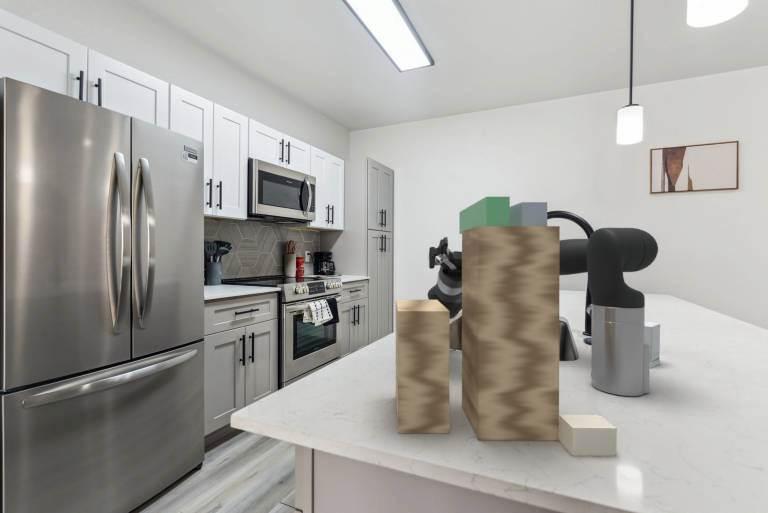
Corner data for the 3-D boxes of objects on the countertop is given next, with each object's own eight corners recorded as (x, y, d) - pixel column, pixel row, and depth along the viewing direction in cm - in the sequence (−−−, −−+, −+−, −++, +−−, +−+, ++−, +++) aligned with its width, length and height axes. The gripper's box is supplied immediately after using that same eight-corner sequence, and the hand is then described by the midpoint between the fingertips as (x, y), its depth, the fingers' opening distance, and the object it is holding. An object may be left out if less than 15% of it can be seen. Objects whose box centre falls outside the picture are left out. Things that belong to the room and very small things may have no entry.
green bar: (476, 233, 74) (476, 212, 74) (509, 226, 54) (509, 196, 54) (459, 233, 74) (459, 212, 74) (486, 226, 54) (486, 196, 54)
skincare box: (604, 358, 96) (604, 319, 96) (614, 354, 100) (615, 316, 100) (651, 369, 87) (651, 325, 87) (660, 364, 91) (661, 322, 91)
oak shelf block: (527, 406, 66) (528, 231, 66) (558, 440, 54) (559, 226, 54) (461, 406, 66) (462, 231, 66) (478, 440, 54) (478, 226, 54)
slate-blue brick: (531, 230, 63) (531, 207, 63) (547, 227, 57) (547, 202, 57) (508, 230, 63) (508, 207, 63) (521, 227, 57) (521, 202, 57)
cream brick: (599, 442, 54) (599, 415, 54) (616, 457, 50) (616, 428, 50) (559, 441, 54) (559, 414, 54) (572, 456, 50) (572, 427, 50)
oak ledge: (436, 397, 70) (436, 299, 70) (449, 433, 56) (449, 311, 56) (395, 397, 70) (395, 299, 70) (397, 433, 56) (397, 311, 56)
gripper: (484, 289, 88) (503, 256, 73) (425, 289, 88) (433, 256, 74) (480, 262, 91) (497, 225, 77) (424, 262, 91) (431, 225, 77)
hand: (466, 240), depth 75 cm, fingers open, 8 cm apart
